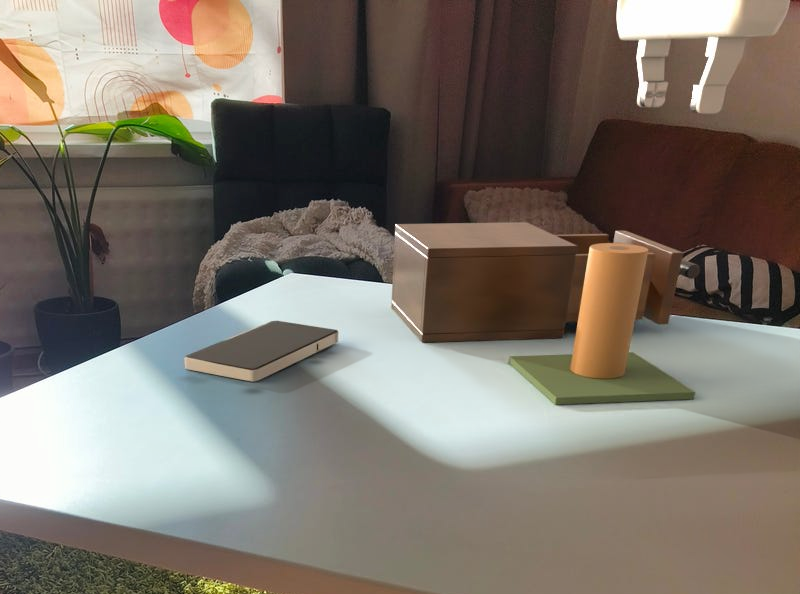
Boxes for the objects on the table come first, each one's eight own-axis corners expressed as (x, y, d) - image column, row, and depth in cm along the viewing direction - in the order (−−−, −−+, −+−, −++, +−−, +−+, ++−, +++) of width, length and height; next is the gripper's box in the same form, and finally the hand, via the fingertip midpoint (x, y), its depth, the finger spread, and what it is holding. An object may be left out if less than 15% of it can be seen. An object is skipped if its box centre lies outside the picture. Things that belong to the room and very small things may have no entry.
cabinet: (516, 304, 101) (526, 222, 97) (563, 338, 89) (577, 245, 85) (391, 308, 100) (395, 224, 95) (421, 342, 88) (428, 248, 83)
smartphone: (180, 356, 79) (272, 319, 90) (181, 370, 80) (272, 331, 91) (255, 370, 76) (342, 330, 86) (256, 384, 76) (341, 342, 87)
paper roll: (611, 362, 80) (633, 242, 75) (633, 378, 76) (658, 252, 71) (562, 364, 79) (581, 243, 74) (582, 380, 76) (603, 253, 70)
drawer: (649, 294, 102) (662, 229, 99) (707, 323, 91) (724, 251, 88) (500, 298, 100) (507, 232, 96) (541, 328, 89) (551, 255, 85)
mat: (631, 358, 83) (632, 351, 83) (694, 399, 73) (695, 392, 73) (508, 362, 82) (509, 356, 82) (555, 404, 72) (556, 397, 72)
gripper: (851, -148, 54) (787, 116, 61) (692, -99, 71) (657, 103, 78) (753, -150, 53) (700, 118, 61) (616, -100, 70) (589, 104, 78)
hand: (675, 110), depth 70 cm, fingers open, 8 cm apart
